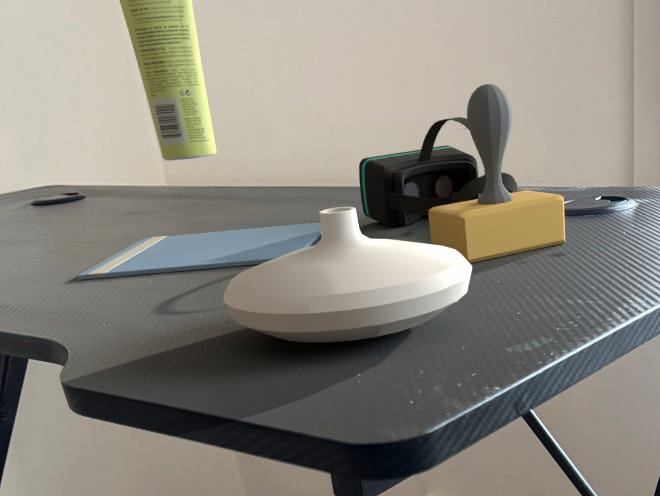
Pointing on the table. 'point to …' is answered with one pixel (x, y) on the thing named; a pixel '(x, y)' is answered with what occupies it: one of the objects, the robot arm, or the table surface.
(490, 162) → the rubber stamp
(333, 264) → the vase
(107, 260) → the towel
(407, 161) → the virtual reality headset
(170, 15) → the tube
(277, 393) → the table surface
